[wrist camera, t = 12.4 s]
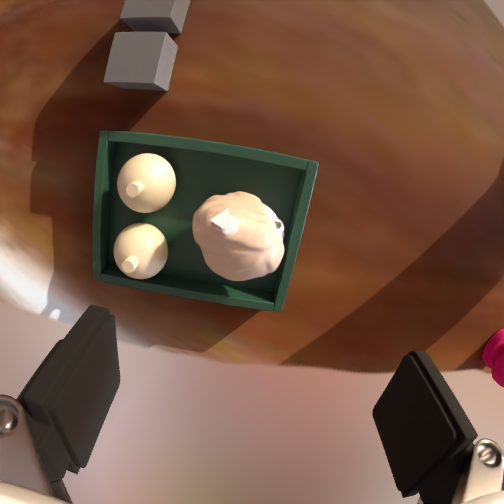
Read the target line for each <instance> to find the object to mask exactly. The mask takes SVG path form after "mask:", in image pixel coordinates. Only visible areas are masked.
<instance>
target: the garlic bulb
mask: <svg viewBox="0 0 504 504" xmlns="http://www.w3.org/2000/svg"><path fill="white" fill-rule="evenodd" d="M283 230H284V226H283V223H282V222H281V221H280V220H279V219H278V218H277V216H276V215H275V213H274V212H273V211H272V210H271V209H270V208H269V207H268V206H266V205H265V204H263V203H262V202H261V200H260V199H259V198H258V197H256V196H255V195H252V194H250V193H246V192H241V191H238V192H234V193H228V194H226V195H214V196H211V197H210V198H208V199H207V200H206V201H205V202H204V203H203V204H202V205H201V206H200V208H199V209H198V210H197V211H196V212H195V213H194V216H193V235H194V239H195V241H196V243H197V244H198V245H199V246H200V248H201V251H202V254H203V256H204V260H205V262H206V264H207V265H208V266H209V268H210V269H211V270H212V271H213V272H215V273H216V274H218V275H220V276H222V277H224V278H226V279H228V280H232V281H244V280H249V279H253V278H256V277H263V276H265V275H267V274H268V273H272V272H274V271H275V270H276V269H277V267H278V266H279V264H280V262H281V260H282V257H283V254H284V245H283V237H284V232H283Z"/></svg>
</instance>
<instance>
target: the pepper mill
mask: <svg viewBox="0 0 504 504" xmlns="http://www.w3.org/2000/svg"><path fill="white" fill-rule="evenodd" d="M482 360H483V362H484V363H485V364H486V365H487V367H489V368H492V378H493V379H494V380H495V381H496V382H497V383H498V384H499V385H500V386H502V387H504V328H503V329H501V330H499V331H498V332H496V333H495V334H494V335H493V336H492V337H491V338H490V340H489V341H488V342H487V344H486V346H485V348H484V350H483V353H482Z"/></svg>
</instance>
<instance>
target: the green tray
mask: <svg viewBox="0 0 504 504" xmlns="http://www.w3.org/2000/svg"><path fill="white" fill-rule="evenodd" d="M145 153H151V154H156V155H159V156H161V157H162V158H164V159H165V160H166V161H167V162H168V163H169V164H170V165H171V167H172V168H173V170H174V173H175V178H176V186H175V191H174V194H173V196H172V198H171V199H170V201H169V202H168V203H167V204H166V205H165V206H164V207H162V208H161V209H159V210H157V211H154V212H150V213H141V212H137V211H134V210H132V209H130V208H129V207H128V206H126V205H125V204H124V202H123V201H122V199H121V198H120V196H119V193H118V188H117V180H118V176H119V173H120V170H121V169H122V167H123V166H124V164H125V163H126V162H127V161H128V160H130V159H131V158H133V157H134V156H137V155H139V154H145ZM318 164H319V163H318V162H315V161H312V160H309V159H305V158H300V157H296V156H291V155H287V154H282V153H277V152H272V151H267V150H262V149H256V148H251V147H245V146H240V145H234V144H228V143H222V142H215V141H209V140H202V139H194V138H187V137H179V136H171V135H162V134H152V133H142V132H130V131H117V130H100V134H99V141H98V150H97V159H96V170H95V183H94V199H93V230H92V254H93V280H97V281H102V282H107V283H111V284H116V285H121V286H126V287H131V288H136V289H141V290H146V291H151V292H156V293H162V294H167V295H172V296H178V297H184V298H189V299H195V300H201V301H207V302H213V303H219V304H226V305H232V306H239V307H245V308H252V309H259V310H266V311H274V312H282V309H283V305H284V302H285V298H286V294H287V291H288V287H289V283H290V279H291V276H292V272H293V268H294V264H295V260H296V256H297V252H298V248H299V245H300V241H301V237H302V233H303V228H304V224H305V220H306V216H307V212H308V208H309V204H310V199H311V195H312V191H313V186H314V182H315V178H316V173H317V169H318ZM238 191H241V192H246V193H250V194H252V195H255V196H256V197H258V198H259V199H260V200H261V202H262V203H263V204H265V205H266V206H268V207H269V208H270V209H271V210H272V211H273V212H274V213H275V215H276V216H277V218H278V219H279V220H280V221H281V222H282V223H283V226H284V230H283V232H284V237H283V245H284V254H283V257H282V260H281V262H280V264H279V266H278V267H277V269H276V270H275V271H274V272H272V273H268V274H267V275H265V276H263V277H256V278H253V279H249V280H244V281H232V280H228V279H226V278H224V277H222V276H220V275H218V274H216V273H215V272H213V271H212V270H211V269H210V268H209V266H208V265H207V264H206V262H205V260H204V256H203V254H202V251H201V248H200V246H199V245H198V244H197V243H196V241H195V239H194V235H193V216H194V213H195V212H196V211H197V210H198V209H199V208H200V206H201V205H202V204H203V203H204V202H205V201H206V200H207V199H208V198H210V197H211V196H214V195H226V194H228V193H234V192H238ZM136 223H146V224H150V225H152V226H154V227H156V228H157V229H158V230H159V231H160V232H161V233H162V234H163V235H164V237H165V239H166V242H167V246H168V256H167V260H166V263H165V265H164V266H163V268H162V269H161V270H160V271H159V272H158V273H157V274H156V275H154V276H152V277H150V278H146V279H135V278H132V277H129V276H127V275H126V274H124V273H123V272H122V271H121V270H120V268H119V267H118V265H117V264H116V261H115V258H114V244H115V241H116V239H117V237H118V235H119V234H120V232H121V231H122V230H123V229H125V228H126V227H128V226H129V225H132V224H136Z"/></svg>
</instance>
